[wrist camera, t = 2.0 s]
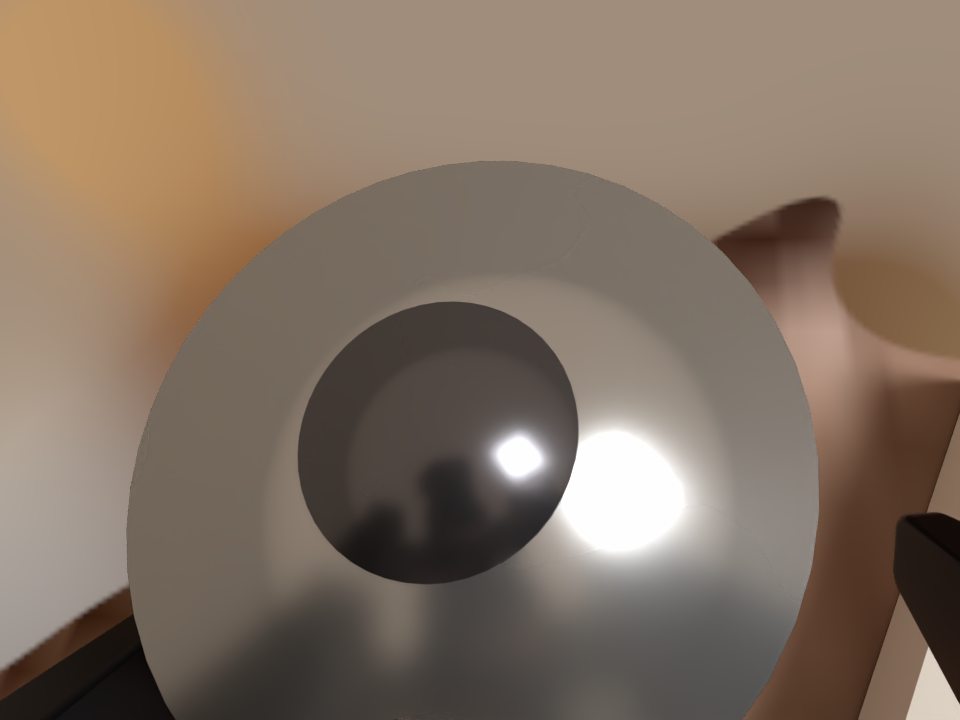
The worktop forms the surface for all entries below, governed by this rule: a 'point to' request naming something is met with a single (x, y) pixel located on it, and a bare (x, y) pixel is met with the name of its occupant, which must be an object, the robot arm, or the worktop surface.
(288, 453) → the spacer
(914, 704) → the scale
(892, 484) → the worktop surface
